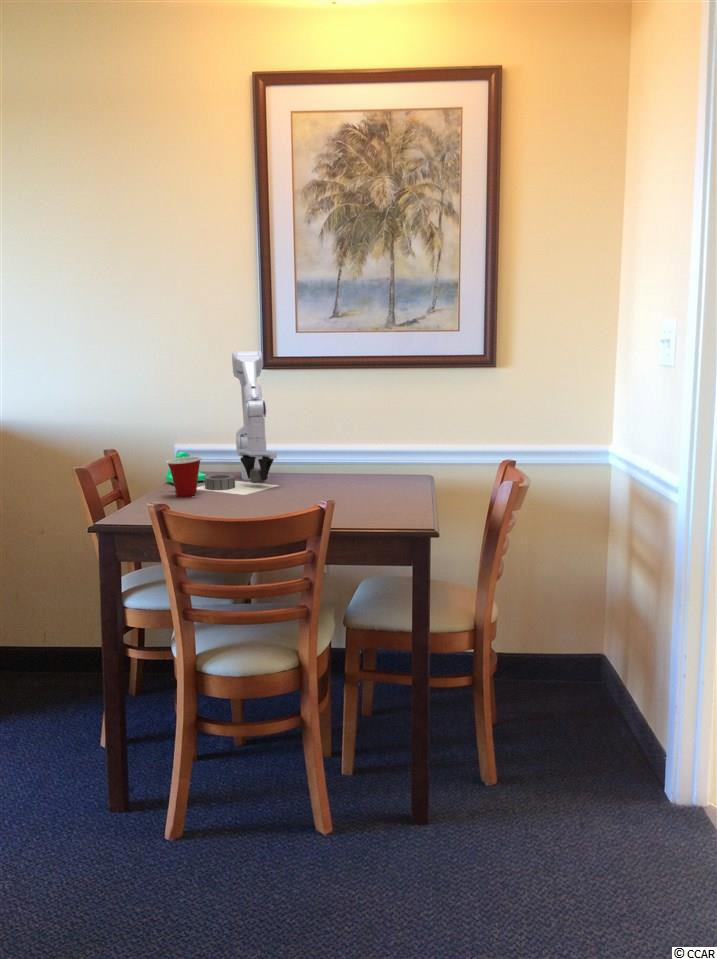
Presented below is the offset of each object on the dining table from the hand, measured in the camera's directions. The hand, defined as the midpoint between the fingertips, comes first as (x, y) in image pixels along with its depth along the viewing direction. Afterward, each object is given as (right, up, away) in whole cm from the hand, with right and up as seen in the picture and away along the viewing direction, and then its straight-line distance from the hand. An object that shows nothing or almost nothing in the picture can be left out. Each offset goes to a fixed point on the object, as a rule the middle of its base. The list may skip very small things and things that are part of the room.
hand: (257, 479), depth 283 cm
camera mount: (-26, -2, +15) cm, 30 cm away
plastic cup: (-22, -6, -9) cm, 24 cm away
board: (-7, -3, 0) cm, 8 cm away
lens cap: (0, -1, 0) cm, 1 cm away
